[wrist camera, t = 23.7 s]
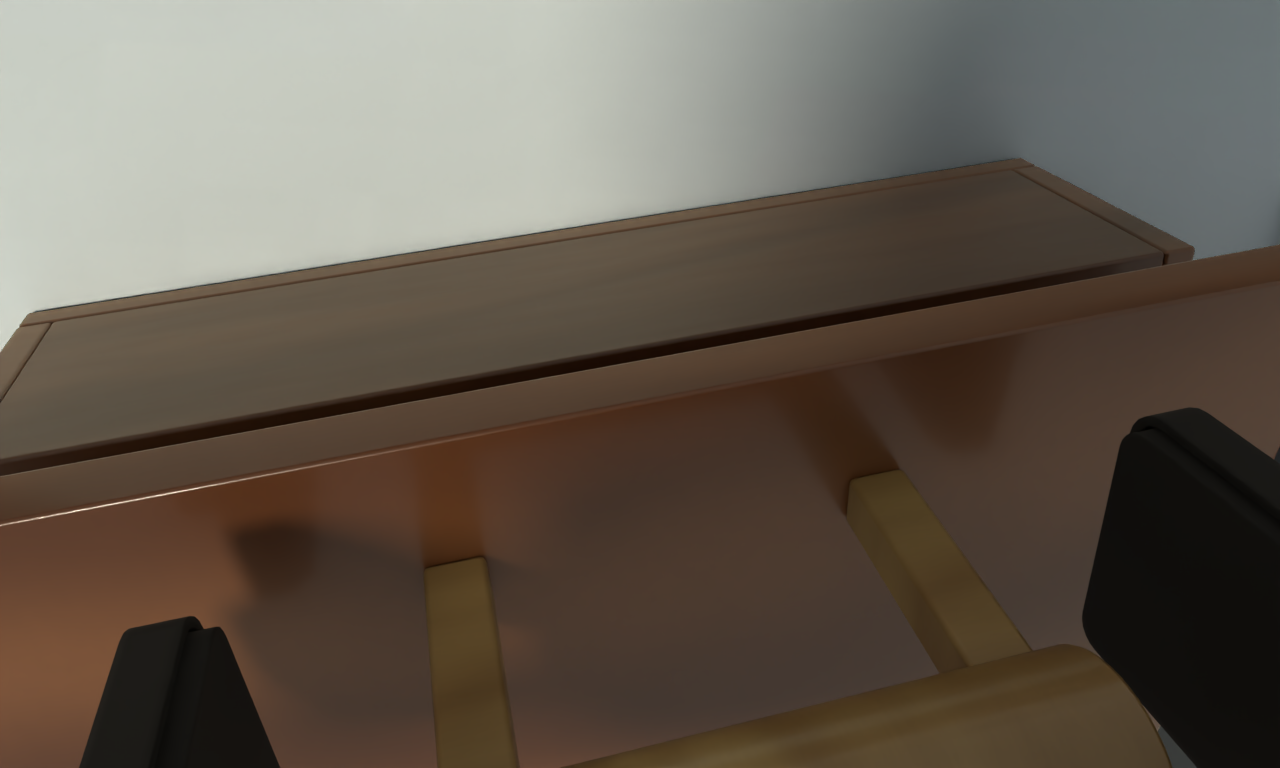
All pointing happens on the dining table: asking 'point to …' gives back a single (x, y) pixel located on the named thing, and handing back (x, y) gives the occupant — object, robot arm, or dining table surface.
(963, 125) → the dining table surface
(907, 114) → the dining table surface
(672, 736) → the lid
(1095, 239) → the chest
